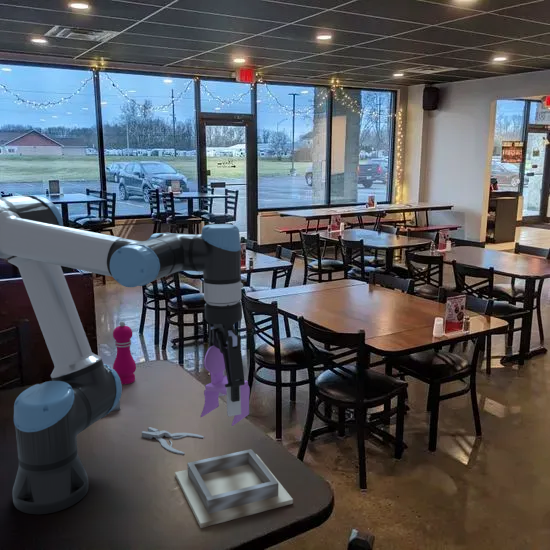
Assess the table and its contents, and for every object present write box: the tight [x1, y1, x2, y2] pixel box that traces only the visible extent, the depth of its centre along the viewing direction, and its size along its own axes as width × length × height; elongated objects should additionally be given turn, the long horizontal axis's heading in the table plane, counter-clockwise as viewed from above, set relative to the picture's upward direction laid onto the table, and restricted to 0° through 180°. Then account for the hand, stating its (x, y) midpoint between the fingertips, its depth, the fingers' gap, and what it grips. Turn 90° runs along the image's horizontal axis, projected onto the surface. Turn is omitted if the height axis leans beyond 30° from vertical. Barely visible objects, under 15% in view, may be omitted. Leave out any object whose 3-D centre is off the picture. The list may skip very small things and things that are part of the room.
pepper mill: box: [112, 320, 137, 385], centre depth 181 cm, size 7×7×20 cm
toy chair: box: [200, 346, 251, 426], centre depth 118 cm, size 8×9×15 cm
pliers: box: [141, 426, 205, 456], centre depth 145 cm, size 10×2×15 cm
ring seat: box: [174, 448, 294, 529], centre depth 123 cm, size 20×20×4 cm
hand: (226, 404), depth 119 cm, fingers closed on toy chair, 9 cm apart
